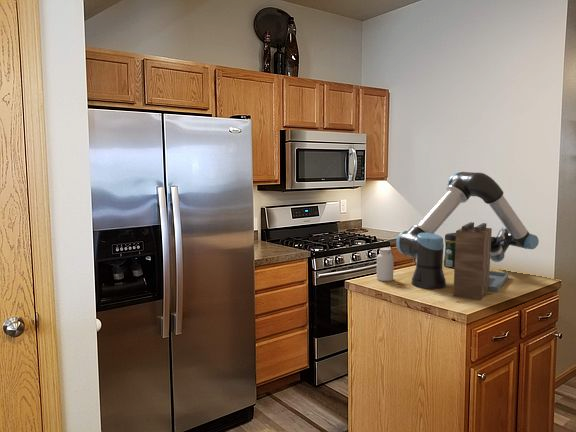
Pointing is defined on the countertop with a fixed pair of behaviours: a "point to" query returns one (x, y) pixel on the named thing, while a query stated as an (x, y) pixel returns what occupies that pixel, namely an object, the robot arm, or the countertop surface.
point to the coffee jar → (450, 250)
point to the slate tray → (496, 280)
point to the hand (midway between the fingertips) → (487, 229)
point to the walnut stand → (472, 261)
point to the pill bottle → (385, 265)
